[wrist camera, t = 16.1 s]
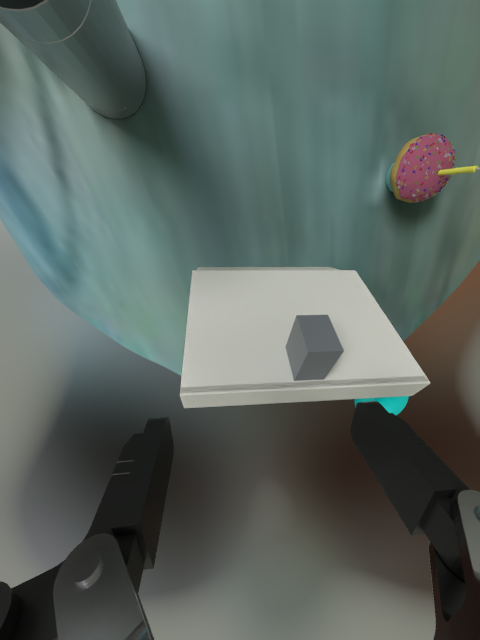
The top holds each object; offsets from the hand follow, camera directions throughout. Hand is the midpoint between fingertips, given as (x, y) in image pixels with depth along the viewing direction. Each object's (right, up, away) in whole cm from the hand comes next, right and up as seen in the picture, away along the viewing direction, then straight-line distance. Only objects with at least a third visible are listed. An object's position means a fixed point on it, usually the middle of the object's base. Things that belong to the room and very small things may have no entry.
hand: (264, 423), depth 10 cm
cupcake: (+25, +28, +28) cm, 46 cm away
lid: (+5, +3, +20) cm, 21 cm away
